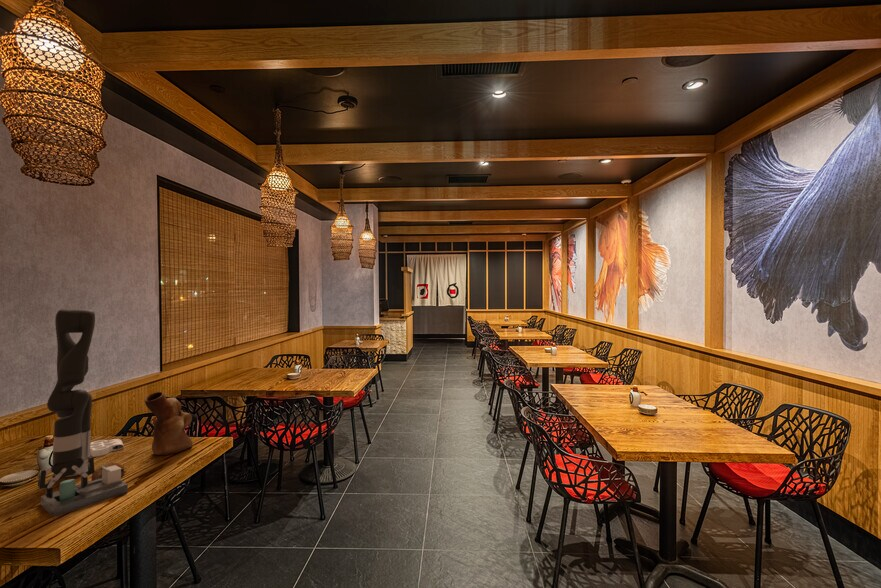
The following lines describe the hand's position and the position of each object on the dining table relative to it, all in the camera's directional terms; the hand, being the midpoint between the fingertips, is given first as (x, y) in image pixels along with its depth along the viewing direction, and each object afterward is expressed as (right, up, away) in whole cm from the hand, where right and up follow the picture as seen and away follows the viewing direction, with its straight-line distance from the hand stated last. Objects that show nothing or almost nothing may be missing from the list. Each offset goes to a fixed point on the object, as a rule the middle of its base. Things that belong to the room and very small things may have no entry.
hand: (66, 492), depth 135 cm
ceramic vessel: (+1, -6, +48) cm, 48 cm away
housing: (+3, -4, +4) cm, 6 cm away
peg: (0, -4, 0) cm, 4 cm away
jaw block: (+7, -1, +10) cm, 13 cm away
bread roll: (-4, -5, +21) cm, 22 cm away
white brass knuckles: (-34, -7, +52) cm, 62 cm away
